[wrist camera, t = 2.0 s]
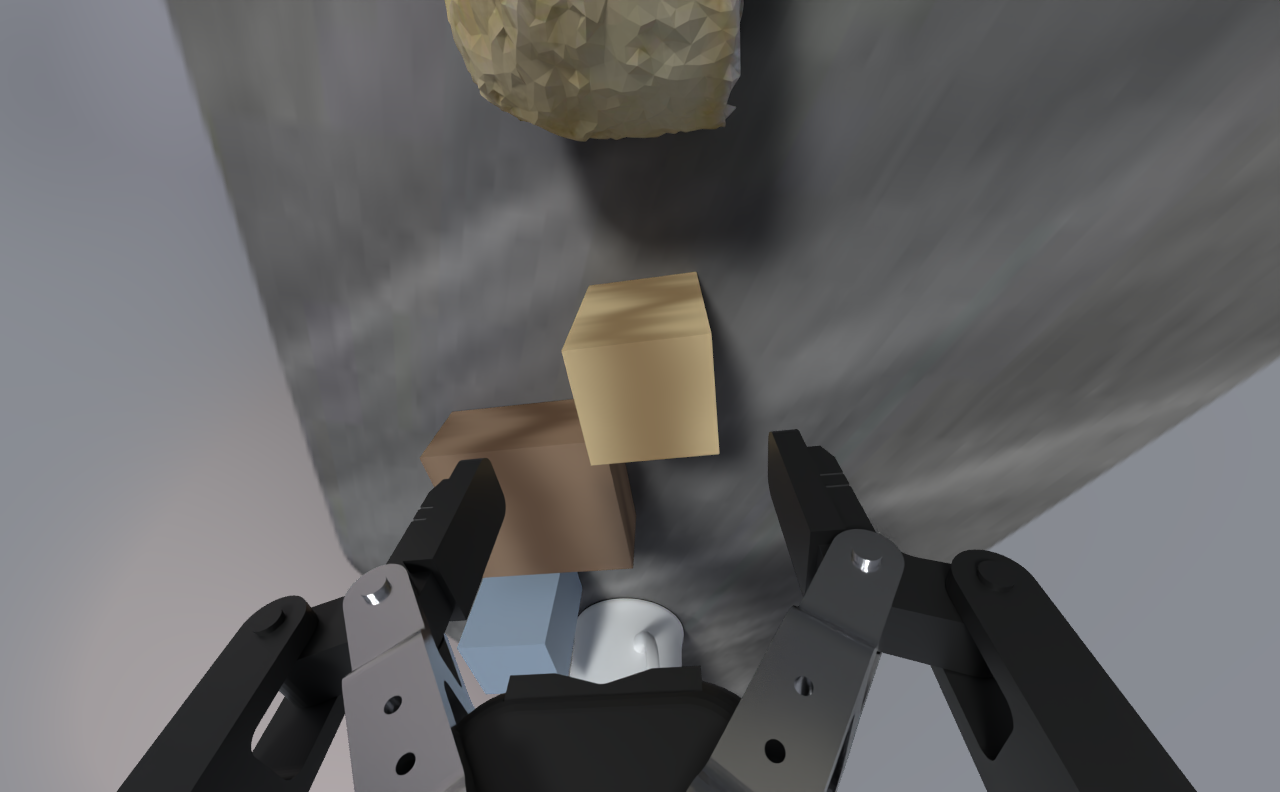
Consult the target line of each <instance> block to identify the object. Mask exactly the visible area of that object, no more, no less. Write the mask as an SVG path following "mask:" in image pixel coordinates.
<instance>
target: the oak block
mask: <svg viewBox="0 0 1280 792" xmlns="http://www.w3.org/2000/svg"><path fill="white" fill-rule="evenodd" d="M562 355H563V358H564V362H565V366H566V370H567V374H568V378H569V382H570V386H571V390H572V393H573V397H574V401H575V405H576V409H577V413H578V417H579V421H580V424H581V428H582V432H583V436H584V440H585V444H586V448H587V452H588V456H589V459H590V463H591V465H602V464H613V463H624V462H636V461H647V460H658V459H669V458H681V457H692V456H703V455H715V454H719V440H718V425H717V410H716V395H715V380H714V365H713V350H712V335H711V330H710V326H709V322H708V318H707V313H706V309H705V305H704V301H703V297H702V293H701V289H700V285H699V281H698V277H697V273H696V272H691V273H683V274H676V275H668V276H660V277H653V278H645V279H637V280H630V281H622V282H615V283H607V284H599V285H592V286H589V287H588V290H587V292H586V294H585V297H584V299H583V301H582V304H581V306H580V308H579V311H578V313H577V316H576V318H575V320H574V323H573V325H572V327H571V330H570V332H569V335H568V337H567V339H566V342H565V344H564V346H563V349H562Z"/></svg>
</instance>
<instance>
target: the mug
mask: <svg viewBox="0 0 1280 792" xmlns="http://www.w3.org/2000/svg"><path fill="white" fill-rule="evenodd" d="M683 638H684V631H683V627H682V624H681V622H680V621H679V619H678V618H677V617H676V616H675V615H674V614H673V613H672V612H671V611H669V610H668V609H666V608H664V607H662V606H660V605H658V604H656V603H653V602H649V601H645V600H640V599H632V598H618V599H610V600H605V601H602V602H599V603H596V604H594V605H592V606H590V607H588V608H587V609H585V610H584V611H583V612H582V613H581V614H580V615H579V617H578V618H577V624H576V631H575V643H574V652H573V659H572V665H571V671H570V677H573V678H577V679H581V680H585V681H589V682H593V683H597V684H605V683H609V682H612V681H615V680H618V679H621V678H624V677H627V676H630V675H633V674H636V673H639V672H642V671H645V670H648V669H651V668H666V667H682V643H683Z"/></svg>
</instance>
